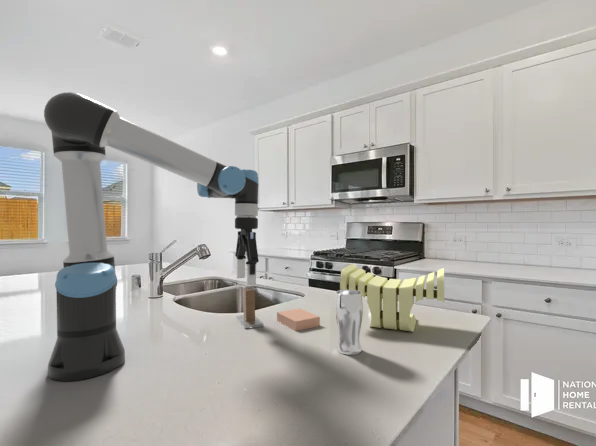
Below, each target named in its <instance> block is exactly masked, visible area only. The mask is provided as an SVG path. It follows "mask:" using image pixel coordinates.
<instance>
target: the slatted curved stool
mask: <svg viewBox="0 0 596 446" xmlns="http://www.w3.org/2000/svg"><path fill="white" fill-rule="evenodd" d="M425 284H426V285H425ZM425 286H426V287H425ZM339 290H357V291H360V292H362V298H365V297H366V303H367V305H368V308H369V312H370V318H371V321H370V325H369V327H370V328H379V329H382V328H383V329H387V330H398V329H399V330H400V331H405V332H413V333H414V332H415V327H416V323H417V318H416V317H415V314H414V313H411V310H412V308H413V306H414V301H415V303H416V302H418V301H421V300H424V298H426V299H427V300H434V299H436V300H437V301H439V302H442V303H445V268H444V267H442V268H440V269H438V270H437V274H436V289H435V271H433V272H430V273H428V274H427V277H426V275H421V276H419V277H418V278H417V277H411V278H404V279H403V280H402V278H389V280H388V277H385V276H380V275H375V276H374V273H371V272H367V273H366V270H365V269H363V268H358V266H357V265H356V264H354V263H351V264H349V265H346V266H345V267H343V268H342V269H341V272H340V278H339Z"/></svg>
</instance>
